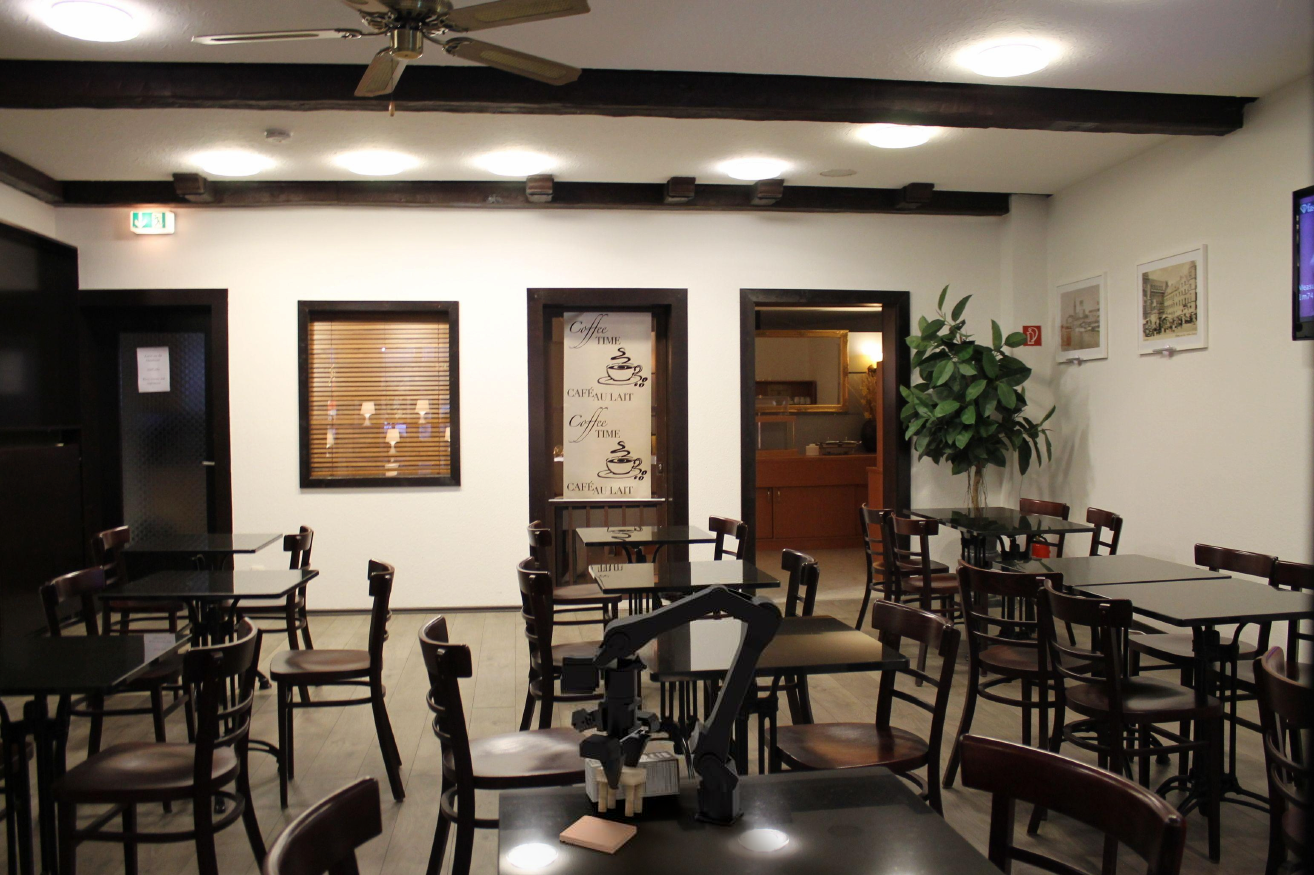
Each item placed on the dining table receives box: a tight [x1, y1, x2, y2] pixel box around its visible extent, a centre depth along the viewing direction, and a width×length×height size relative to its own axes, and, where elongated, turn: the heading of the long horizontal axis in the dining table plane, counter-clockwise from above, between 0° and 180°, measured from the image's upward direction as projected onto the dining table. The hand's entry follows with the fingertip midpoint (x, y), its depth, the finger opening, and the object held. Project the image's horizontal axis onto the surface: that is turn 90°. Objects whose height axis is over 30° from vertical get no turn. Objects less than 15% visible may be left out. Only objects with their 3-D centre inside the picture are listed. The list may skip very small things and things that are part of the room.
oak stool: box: [597, 766, 646, 817], centre depth 154 cm, size 7×5×7 cm
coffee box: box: [584, 750, 681, 803], centre depth 163 cm, size 9×6×16 cm
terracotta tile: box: [559, 815, 637, 854], centre depth 148 cm, size 10×8×1 cm
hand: (621, 783), depth 155 cm, fingers closed on oak stool, 5 cm apart
